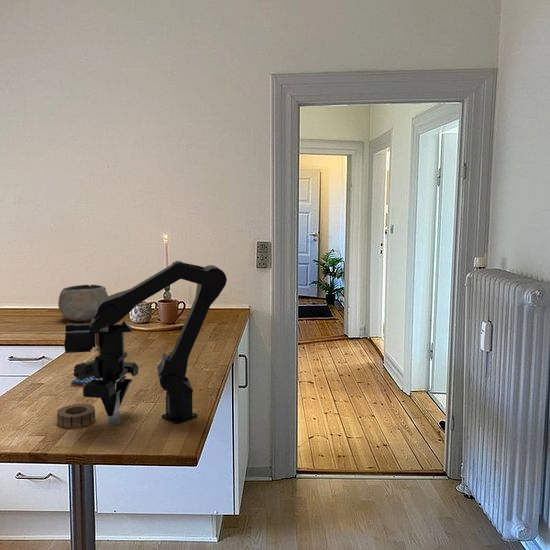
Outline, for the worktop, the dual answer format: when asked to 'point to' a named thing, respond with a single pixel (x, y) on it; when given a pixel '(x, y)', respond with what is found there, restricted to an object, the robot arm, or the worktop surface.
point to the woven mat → (83, 381)
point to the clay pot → (81, 301)
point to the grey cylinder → (114, 416)
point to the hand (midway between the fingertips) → (113, 413)
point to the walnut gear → (76, 415)
